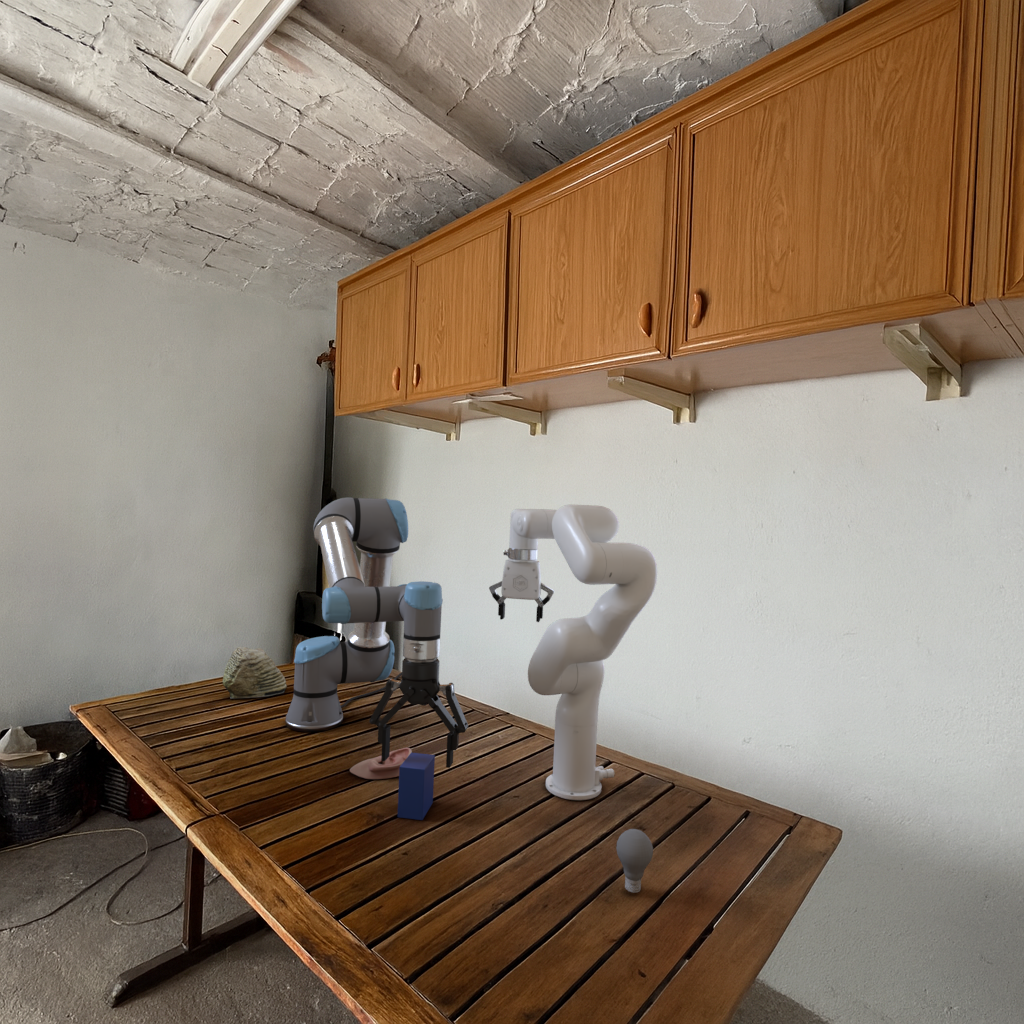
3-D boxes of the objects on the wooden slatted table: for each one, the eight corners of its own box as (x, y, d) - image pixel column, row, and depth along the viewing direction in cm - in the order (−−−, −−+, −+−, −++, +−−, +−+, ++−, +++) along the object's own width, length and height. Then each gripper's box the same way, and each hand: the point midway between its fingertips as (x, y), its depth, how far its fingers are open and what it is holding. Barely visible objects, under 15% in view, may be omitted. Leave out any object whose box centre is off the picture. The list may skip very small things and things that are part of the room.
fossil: (218, 695, 195) (220, 647, 195) (278, 685, 208) (279, 640, 207) (228, 703, 189) (230, 653, 188) (289, 692, 201) (290, 645, 201)
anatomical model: (344, 758, 144) (365, 740, 155) (343, 775, 144) (365, 756, 155) (399, 766, 141) (417, 746, 152) (398, 783, 141) (416, 763, 152)
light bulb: (610, 879, 108) (613, 822, 108) (644, 879, 109) (647, 822, 109) (619, 902, 102) (622, 840, 102) (655, 901, 103) (658, 840, 103)
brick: (397, 817, 127) (399, 766, 126) (409, 800, 134) (411, 752, 134) (422, 820, 126) (424, 769, 126) (432, 802, 133) (434, 754, 133)
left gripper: (355, 657, 128) (351, 762, 128) (477, 667, 124) (472, 775, 124) (369, 649, 135) (366, 749, 135) (484, 658, 131) (480, 760, 131)
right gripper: (488, 554, 165) (485, 620, 165) (554, 558, 162) (551, 625, 163) (493, 552, 173) (490, 615, 173) (556, 556, 170) (553, 619, 170)
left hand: (417, 762), depth 129 cm, fingers open, 13 cm apart
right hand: (520, 619), depth 168 cm, fingers open, 9 cm apart
